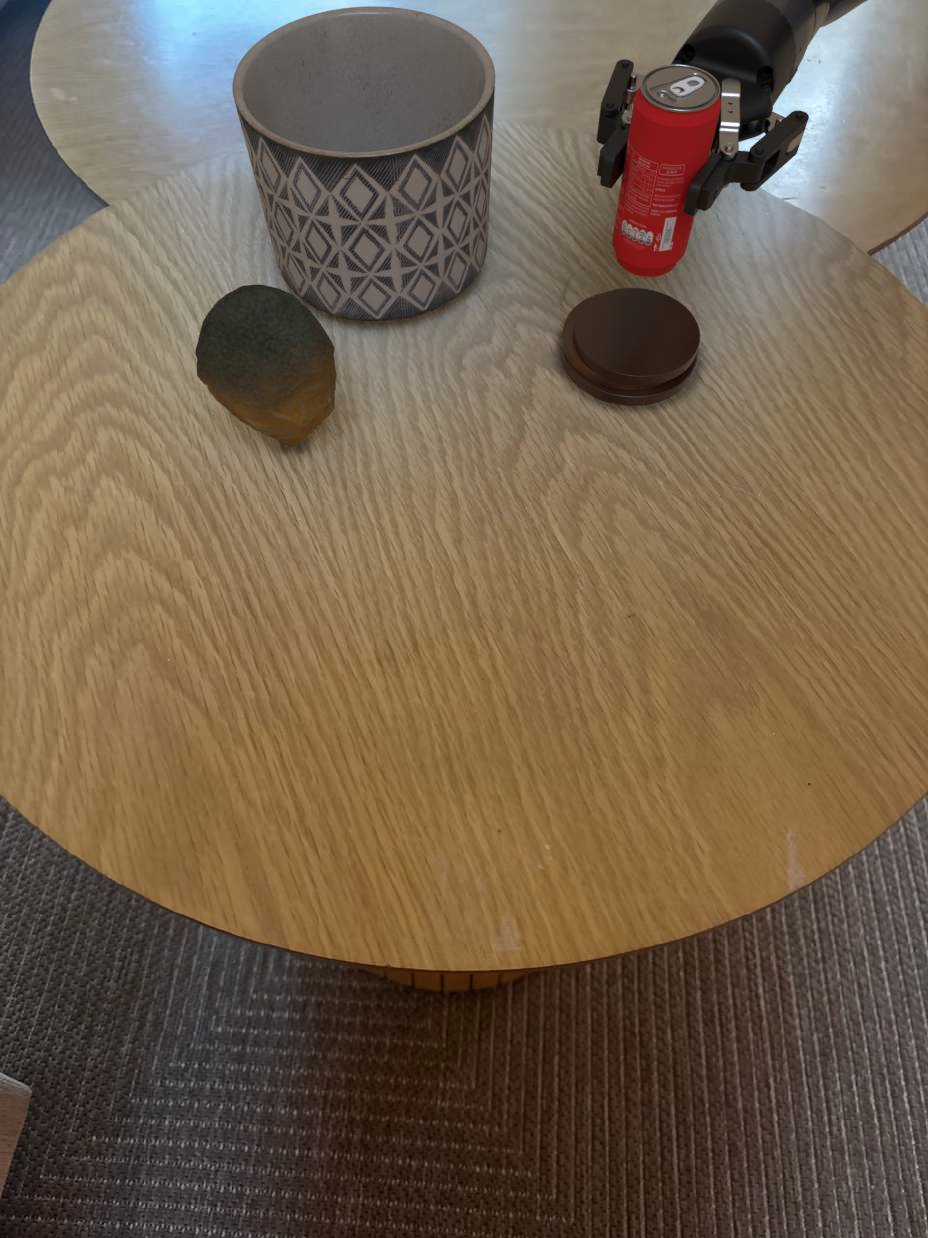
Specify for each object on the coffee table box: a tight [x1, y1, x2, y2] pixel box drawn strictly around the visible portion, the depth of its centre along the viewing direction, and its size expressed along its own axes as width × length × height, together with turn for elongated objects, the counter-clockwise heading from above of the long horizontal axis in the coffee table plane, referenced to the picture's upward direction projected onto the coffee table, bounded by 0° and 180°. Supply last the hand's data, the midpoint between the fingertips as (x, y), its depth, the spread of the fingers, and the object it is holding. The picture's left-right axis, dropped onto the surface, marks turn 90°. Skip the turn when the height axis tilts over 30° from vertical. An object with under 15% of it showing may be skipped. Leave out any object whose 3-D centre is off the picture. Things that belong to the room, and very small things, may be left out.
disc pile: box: [561, 287, 701, 406], centre depth 72 cm, size 11×11×3 cm
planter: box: [231, 5, 496, 322], centre depth 72 cm, size 19×19×16 cm
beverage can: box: [611, 64, 721, 279], centre depth 58 cm, size 5×5×12 cm
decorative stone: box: [194, 284, 338, 447], centre depth 62 cm, size 10×6×15 cm, turn 95°
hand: (649, 187), depth 56 cm, fingers closed on beverage can, 5 cm apart
